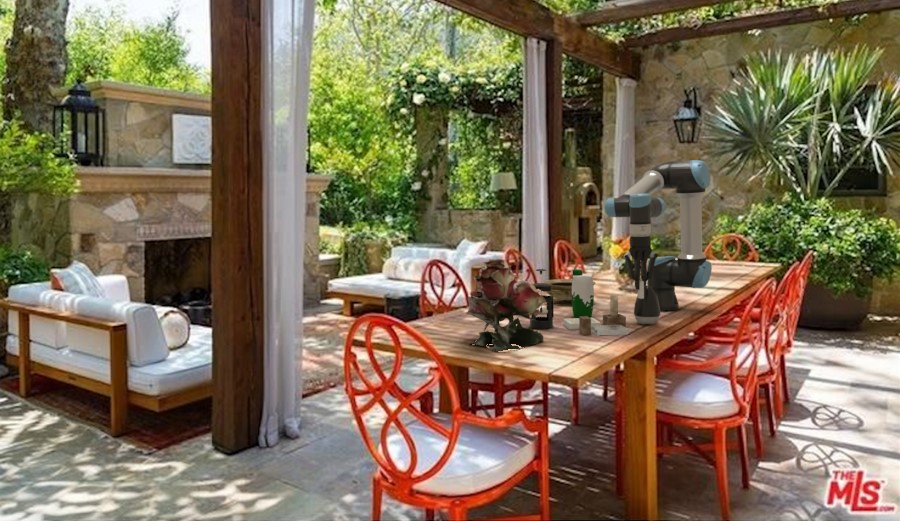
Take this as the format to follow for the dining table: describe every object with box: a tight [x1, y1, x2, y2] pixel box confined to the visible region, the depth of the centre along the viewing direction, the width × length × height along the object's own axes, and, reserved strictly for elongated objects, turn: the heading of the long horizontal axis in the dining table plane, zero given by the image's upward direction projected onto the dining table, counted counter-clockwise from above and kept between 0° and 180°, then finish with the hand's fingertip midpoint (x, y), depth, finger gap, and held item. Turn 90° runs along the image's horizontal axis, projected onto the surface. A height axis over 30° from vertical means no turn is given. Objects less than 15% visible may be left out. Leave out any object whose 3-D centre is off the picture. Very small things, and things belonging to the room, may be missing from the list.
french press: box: [528, 268, 554, 330], centre depth 270 cm, size 12×9×23 cm
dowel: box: [609, 294, 619, 317], centre depth 270 cm, size 3×3×12 cm
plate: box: [591, 324, 630, 337], centre depth 258 cm, size 12×9×2 cm
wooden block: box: [578, 316, 592, 336], centre depth 257 cm, size 3×5×6 cm, turn 5°
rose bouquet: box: [465, 258, 547, 352], centre depth 245 cm, size 26×29×30 cm
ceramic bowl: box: [543, 278, 596, 305], centre depth 326 cm, size 30×24×10 cm
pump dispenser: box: [633, 285, 661, 325], centre depth 273 cm, size 10×10×15 cm
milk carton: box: [571, 269, 595, 319], centre depth 289 cm, size 9×9×20 cm
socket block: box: [602, 313, 627, 328], centre depth 270 cm, size 7×7×4 cm
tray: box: [562, 317, 601, 331], centre depth 269 cm, size 12×10×2 cm
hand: (640, 297), depth 258 cm, fingers closed
